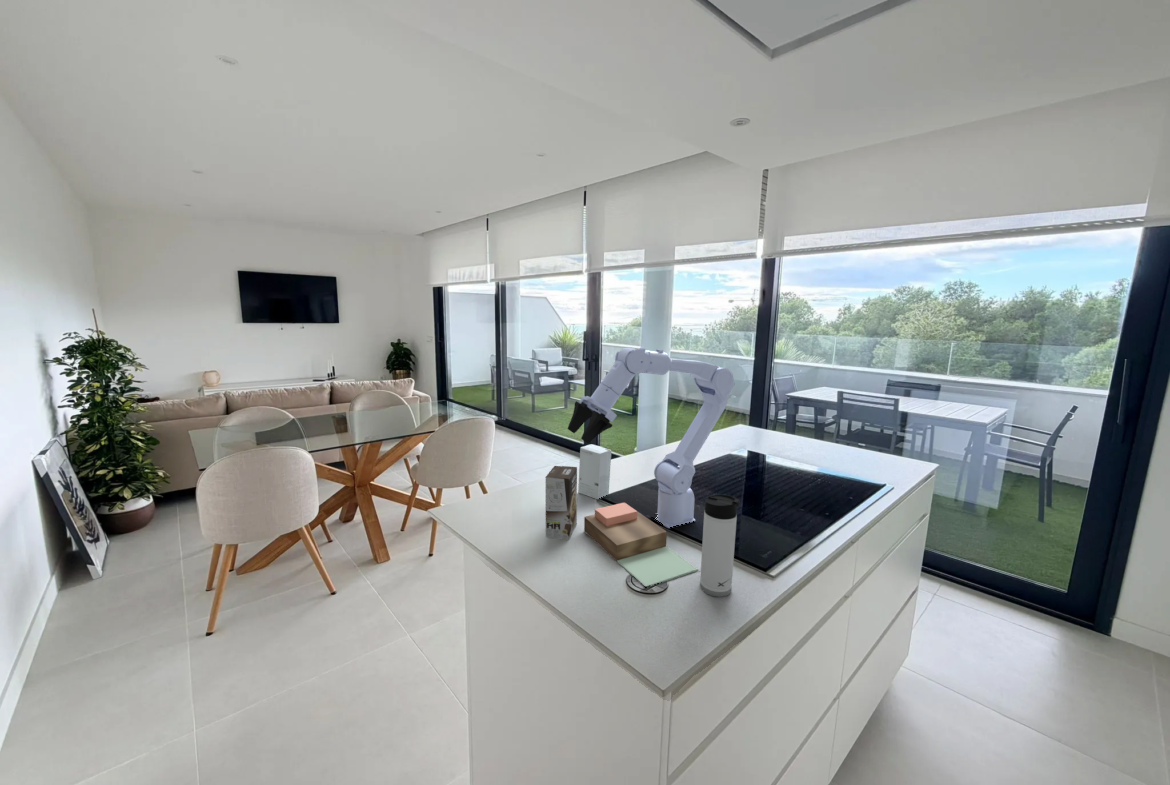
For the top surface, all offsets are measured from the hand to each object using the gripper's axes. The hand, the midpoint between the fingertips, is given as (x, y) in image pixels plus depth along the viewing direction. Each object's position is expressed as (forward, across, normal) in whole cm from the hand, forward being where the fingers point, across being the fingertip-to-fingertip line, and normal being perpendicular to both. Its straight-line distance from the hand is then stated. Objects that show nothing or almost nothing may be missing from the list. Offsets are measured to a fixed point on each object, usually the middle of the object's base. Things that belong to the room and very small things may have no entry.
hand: (577, 436), depth 110 cm
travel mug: (+9, +33, +28) cm, 45 cm away
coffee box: (+22, -3, +15) cm, 27 cm away
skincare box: (+12, -20, +31) cm, 39 cm away
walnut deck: (+14, +8, +24) cm, 29 cm away
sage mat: (+13, +21, +24) cm, 35 cm away
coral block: (+11, +3, +22) cm, 25 cm away
